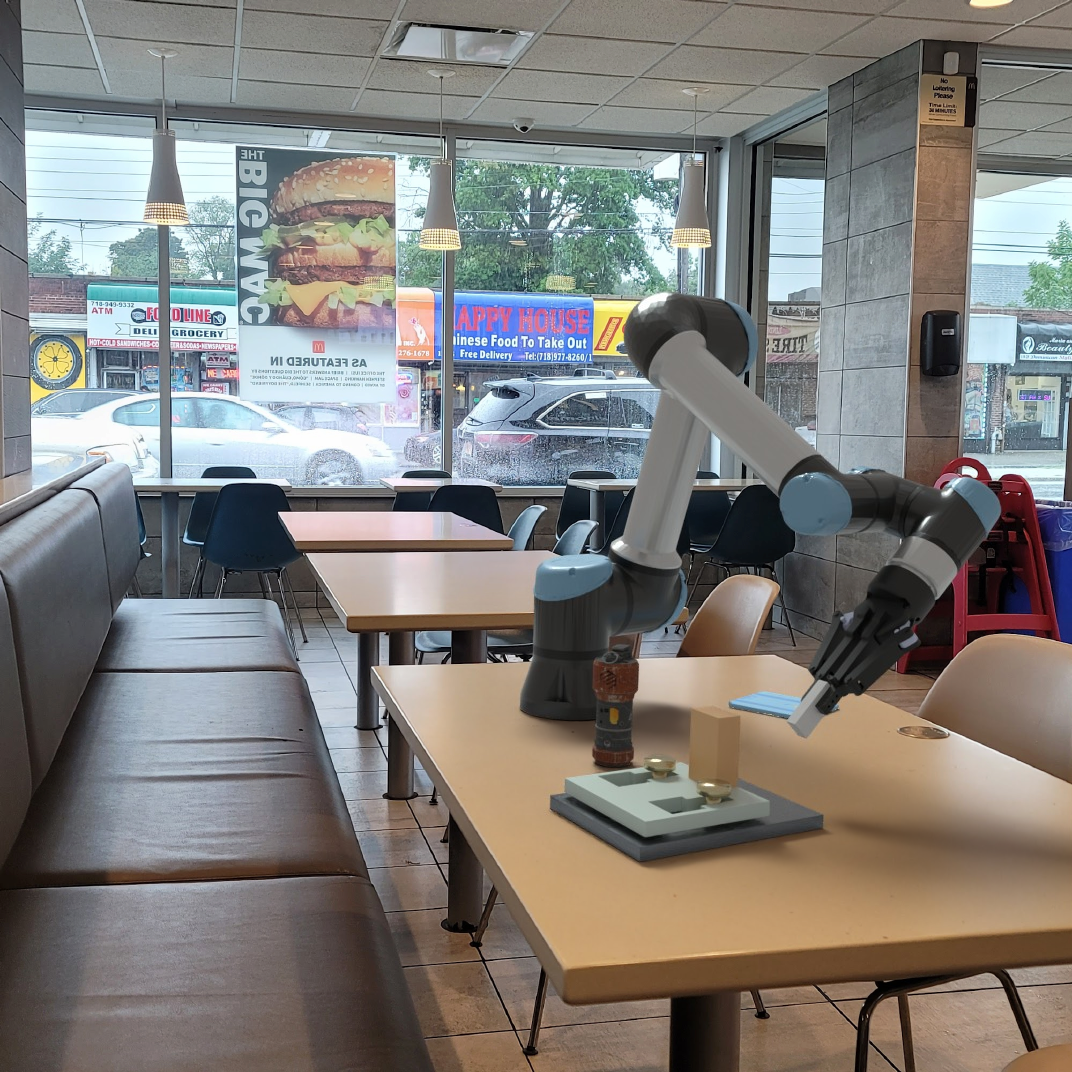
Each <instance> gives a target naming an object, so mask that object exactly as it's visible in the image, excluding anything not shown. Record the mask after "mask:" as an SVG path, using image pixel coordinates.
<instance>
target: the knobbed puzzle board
mask: <svg viewBox="0 0 1072 1072" xmlns="http://www.w3.org/2000/svg"><path fill="white" fill-rule="evenodd" d="M689 731H690V732H689V733H690V735H689V751H688V752H689V753H688V763H685V762H682V761H679V762H676V769H675V771H672V772H667V776H666V777H661V778H654V779H652V773H653V772H652V771H648V770H646V769H645V768H644V766H643V767H635V768H628V769H627V768H626V769H621V770H615V771H607V772H599V773H592V774H585V775H577V776H570V777H565V778H564V792H563V793H567V794H569V795H571V796H573V797H574V798H576V799H578V800H580V801H581V802H583V803H585V804H587V805H589V806H590V807H592V808H594V809H596V810H597V811H599V812H601V813H603V814H605V815H606V816H608V817H610V818H612V819H613V820H615V821H617V822H619V823H621V824H622V825H624V826H626V827H628V828H629V829H631V830H633V831H635V832H637V833H638V834H640V835H642V836H644V837H649V836H655V835H661V834H666V833H672V832H678V831H684V830H690V829H695V828H701V827H707V826H713V825H719V824H724V823H730V822H736V821H742V820H748V819H753V818H759V817H765V816H769V813H770V801H769V800H766V799H764V798H762V797H760V796H757V795H755V794H753V793H750V792H748V791H746V790H744V789H741V788H739V787H737V783H738V778H739V776H738V775H739V757H740V754H739V753H740V738H741V737H740V736H741V735H740V733H741V715H740V714H736V713H734V712H730V711H728V710H726V709H722V708H720V707H717V706H713V705H706V706H701V707H700V706H698V707H690V730H689ZM702 779H720V780H724V781H727V782H729V783H730V784H731V795H730V796H729V797H725V798H721V803H714V804H708V805H706V797H704V796H701V795H699V794H698V793H697V781H699V780H702ZM626 785H628V786H626ZM620 786H621V787H620ZM677 811H682V813H676V814H671V812H677Z"/></svg>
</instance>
